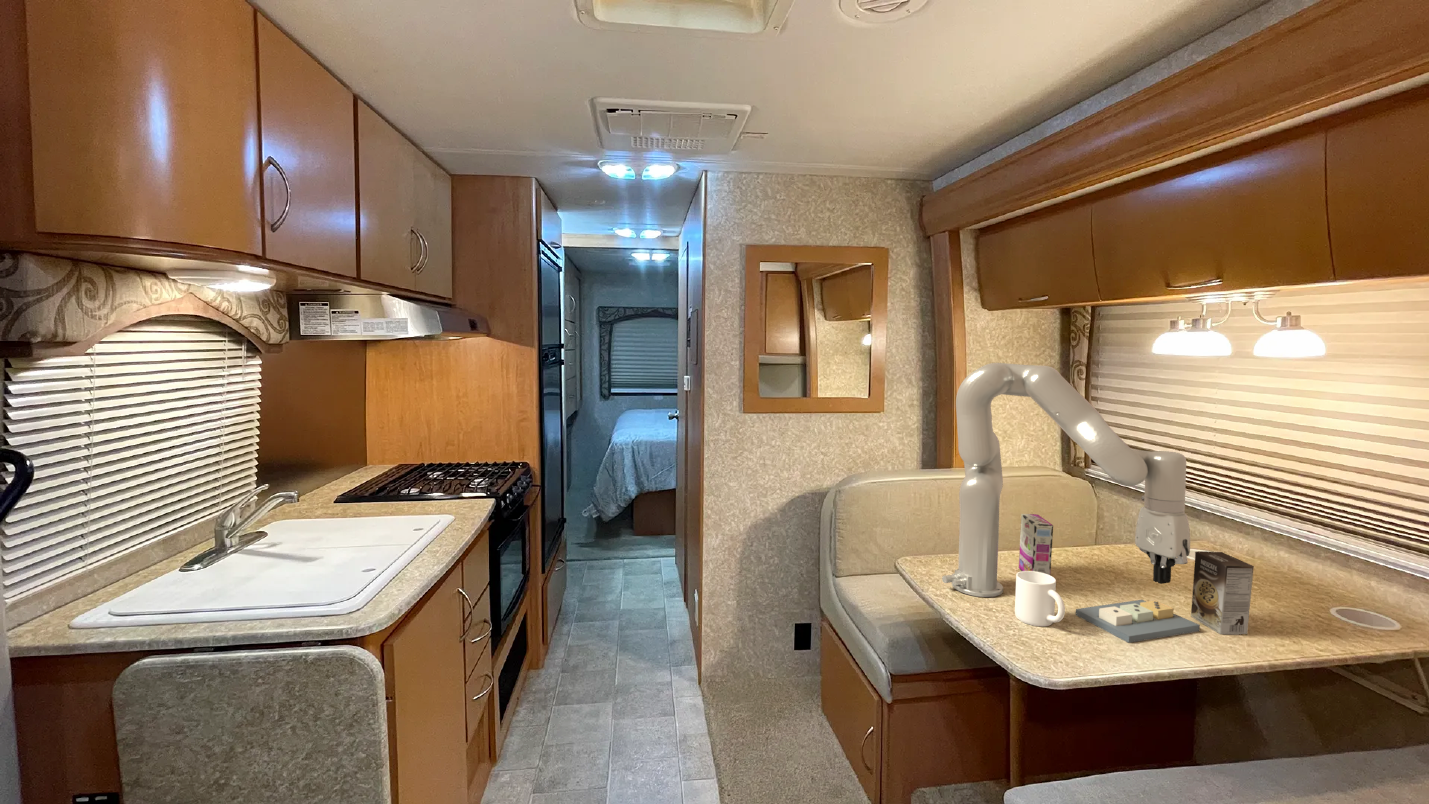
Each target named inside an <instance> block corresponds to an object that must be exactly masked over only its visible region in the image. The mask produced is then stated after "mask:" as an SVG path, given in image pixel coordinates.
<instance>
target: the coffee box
mask: <svg viewBox="0 0 1429 804" xmlns="http://www.w3.org/2000/svg"><path fill="white" fill-rule="evenodd" d="M1194 555H1195V556H1194V567H1193V568H1194V570H1193V583H1192V596H1191V608H1190V609H1191V610H1190V617H1191V618H1193V619H1194V620H1196V621H1198V622H1200V623H1201V624H1202V625H1204V626H1205V627H1207V628H1209V629H1211V630H1212V631H1214V632H1216V633H1218V634H1219V635H1239V634H1240V635H1241V634H1247V635H1248V631H1249V630H1248V628H1249V618H1250V607H1251V599H1252V590H1253V589H1252V588H1253V579H1254V578H1253V577H1254V569H1255V568H1254V565H1252V564H1250V563H1248V562H1245V561H1243V560H1241V559H1239V558H1237V557H1234V556H1232V555H1229V554H1227V553H1225V552H1223V551H1207V550H1206V551H1195V552H1194ZM1241 636H1242V635H1241Z"/></svg>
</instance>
